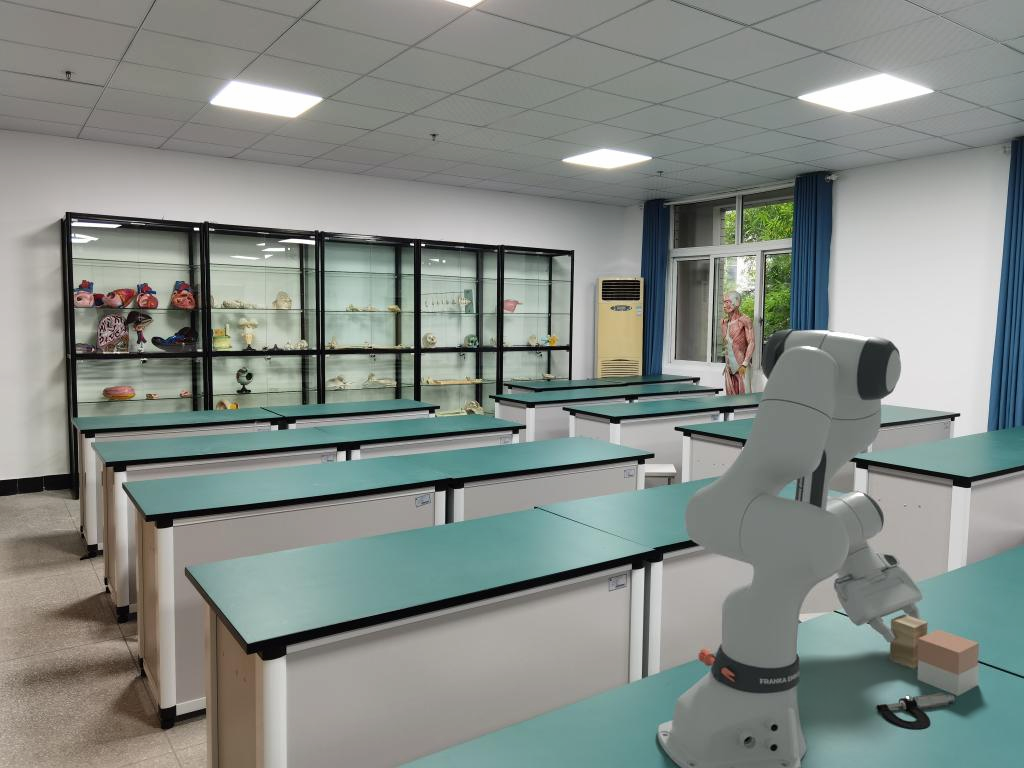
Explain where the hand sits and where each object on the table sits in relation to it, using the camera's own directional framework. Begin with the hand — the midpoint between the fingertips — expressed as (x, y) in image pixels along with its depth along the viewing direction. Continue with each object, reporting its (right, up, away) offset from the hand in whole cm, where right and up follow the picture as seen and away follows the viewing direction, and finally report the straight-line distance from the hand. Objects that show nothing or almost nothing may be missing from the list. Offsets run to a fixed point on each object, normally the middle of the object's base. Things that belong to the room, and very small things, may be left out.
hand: (907, 634), depth 138 cm
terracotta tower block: (+3, -2, -9) cm, 9 cm away
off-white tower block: (+3, -6, -8) cm, 10 cm away
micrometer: (-7, -7, -19) cm, 22 cm away
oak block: (0, -5, 0) cm, 5 cm away
